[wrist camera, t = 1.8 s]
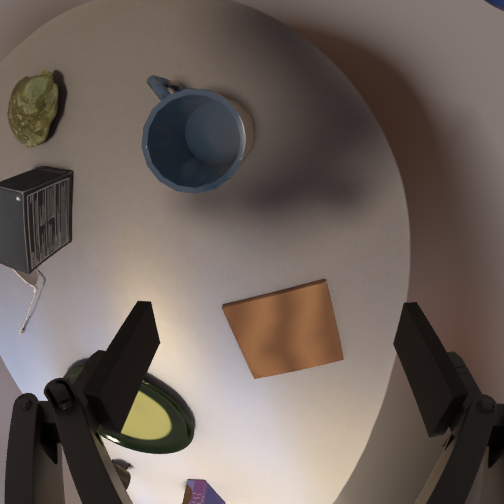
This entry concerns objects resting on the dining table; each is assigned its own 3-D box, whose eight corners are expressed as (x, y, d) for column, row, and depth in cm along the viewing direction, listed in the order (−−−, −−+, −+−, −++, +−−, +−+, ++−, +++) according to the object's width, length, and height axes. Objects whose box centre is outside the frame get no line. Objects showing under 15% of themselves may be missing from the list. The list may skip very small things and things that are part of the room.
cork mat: (325, 278, 41) (326, 281, 40) (342, 356, 46) (343, 359, 45) (222, 304, 43) (221, 307, 42) (254, 375, 48) (254, 379, 48)
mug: (269, 140, 34) (267, 152, 23) (211, 182, 37) (184, 212, 26) (208, 63, 31) (179, 40, 20) (153, 108, 33) (103, 108, 22)
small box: (39, 164, 36) (-12, 183, 27) (74, 170, 37) (24, 190, 27) (39, 233, 41) (-5, 263, 31) (72, 243, 41) (30, 277, 31)
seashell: (-4, 123, 32) (-16, 89, 24) (28, 88, 35) (26, 50, 26) (40, 160, 36) (34, 131, 28) (72, 122, 39) (76, 88, 30)
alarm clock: (116, 470, 70) (100, 514, 55) (101, 460, 69) (83, 504, 54) (136, 465, 67) (120, 514, 52) (120, 455, 65) (102, 505, 50)
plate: (64, 408, 59) (60, 415, 57) (71, 331, 48) (65, 340, 46) (173, 458, 62) (171, 467, 60) (217, 401, 52) (215, 411, 49)
